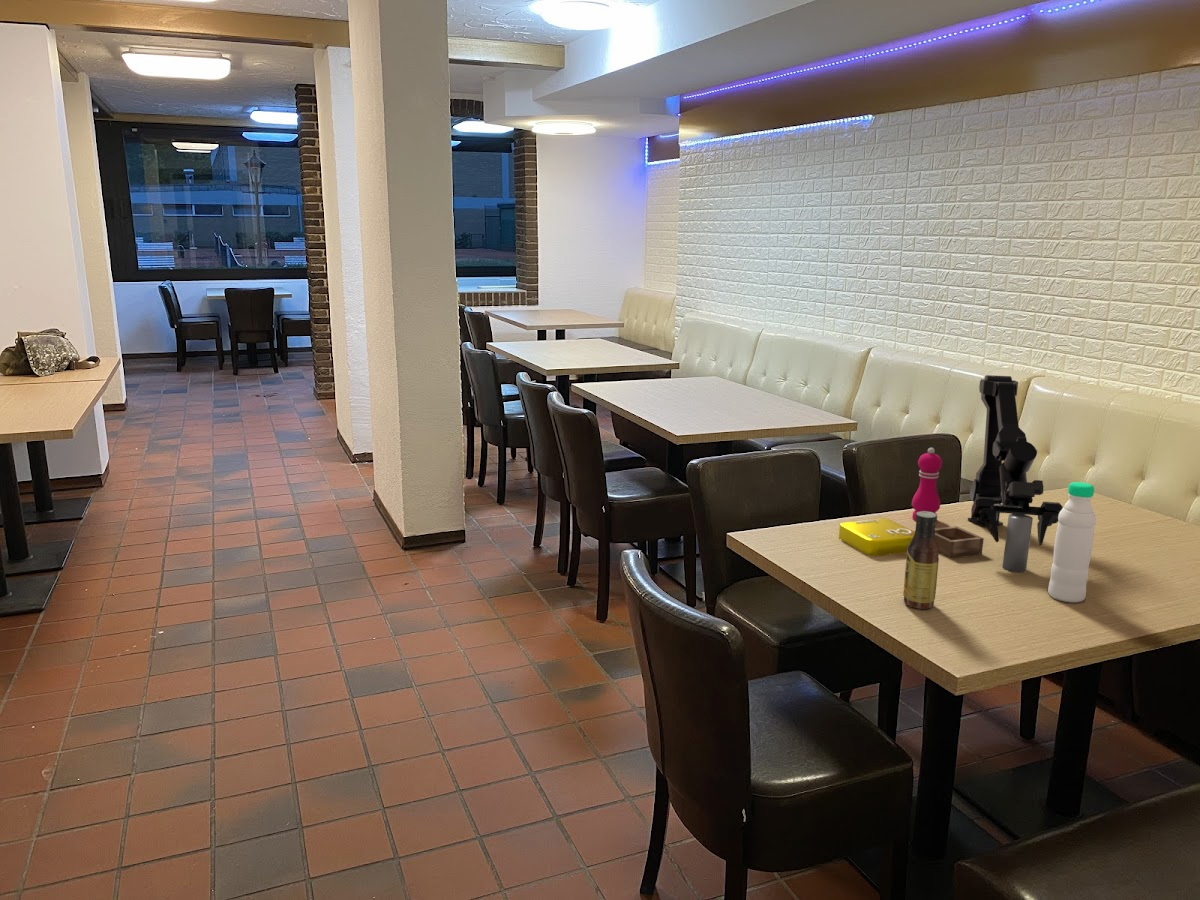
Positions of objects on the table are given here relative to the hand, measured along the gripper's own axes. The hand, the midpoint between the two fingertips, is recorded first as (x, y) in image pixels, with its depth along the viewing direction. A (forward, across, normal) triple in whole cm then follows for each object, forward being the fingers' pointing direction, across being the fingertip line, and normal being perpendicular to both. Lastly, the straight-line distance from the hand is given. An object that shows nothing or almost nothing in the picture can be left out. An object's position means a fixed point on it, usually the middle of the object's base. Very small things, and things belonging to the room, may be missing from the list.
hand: (1019, 543), depth 205 cm
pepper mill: (-20, -16, +30) cm, 39 cm away
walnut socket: (-4, -12, +13) cm, 18 cm away
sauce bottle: (+23, -24, -14) cm, 36 cm away
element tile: (-3, -29, +14) cm, 32 cm away
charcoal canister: (+4, 0, +6) cm, 7 cm away
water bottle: (+15, +7, -5) cm, 17 cm away
